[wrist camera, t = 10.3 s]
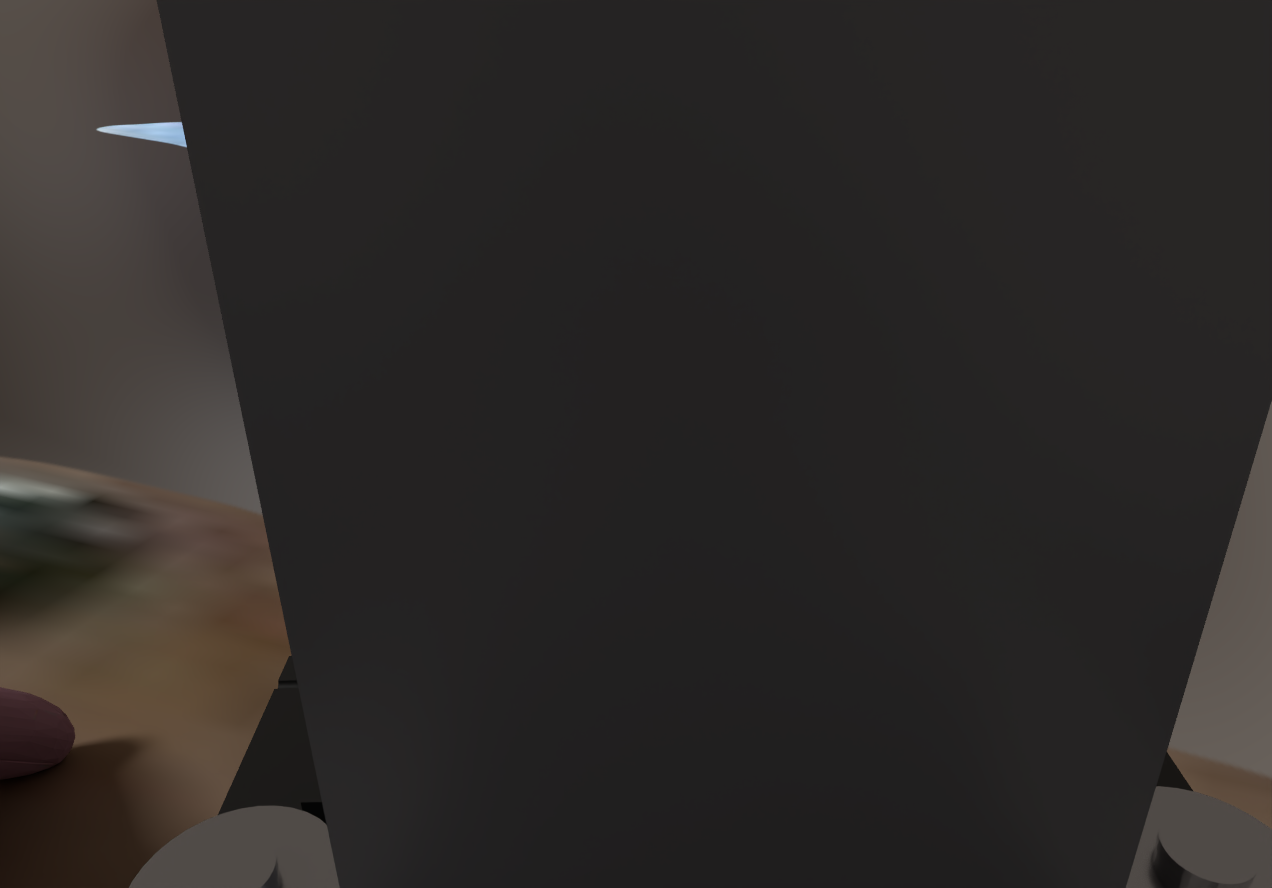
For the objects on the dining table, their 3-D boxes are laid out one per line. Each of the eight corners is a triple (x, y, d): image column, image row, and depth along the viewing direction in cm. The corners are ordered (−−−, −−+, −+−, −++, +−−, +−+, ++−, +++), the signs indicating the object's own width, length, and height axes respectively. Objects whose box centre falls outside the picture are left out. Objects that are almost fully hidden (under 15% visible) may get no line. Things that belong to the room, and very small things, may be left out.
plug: (488, 1607, 9) (-250, -1993, 2) (527, 1086, 14) (361, -632, 6) (913, 1594, 10) (1978, -1965, 2) (820, 1078, 14) (1023, -635, 6)
